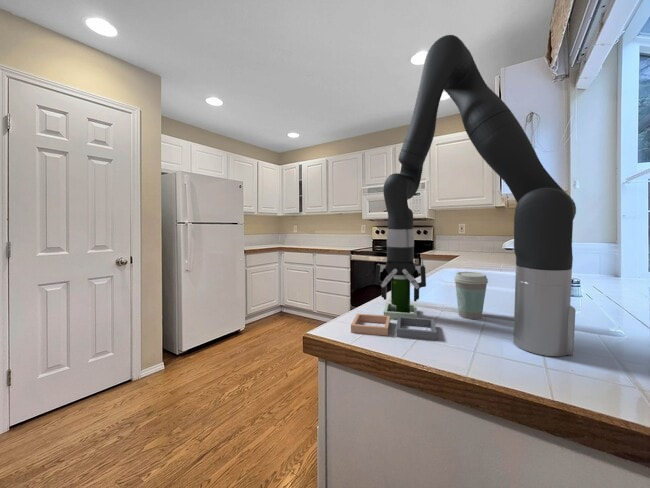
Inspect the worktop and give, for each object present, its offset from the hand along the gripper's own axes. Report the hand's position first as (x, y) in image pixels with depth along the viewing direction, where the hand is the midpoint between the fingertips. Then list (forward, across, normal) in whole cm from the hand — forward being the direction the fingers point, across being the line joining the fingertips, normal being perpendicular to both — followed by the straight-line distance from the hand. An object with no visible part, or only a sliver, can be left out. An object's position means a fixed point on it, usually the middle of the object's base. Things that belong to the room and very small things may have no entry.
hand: (399, 299), depth 82 cm
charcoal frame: (+4, -4, +12) cm, 14 cm away
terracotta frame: (+4, +7, +12) cm, 15 cm away
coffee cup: (+4, -19, -3) cm, 20 cm away
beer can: (+4, 0, 0) cm, 5 cm away
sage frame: (+4, 0, 0) cm, 4 cm away
